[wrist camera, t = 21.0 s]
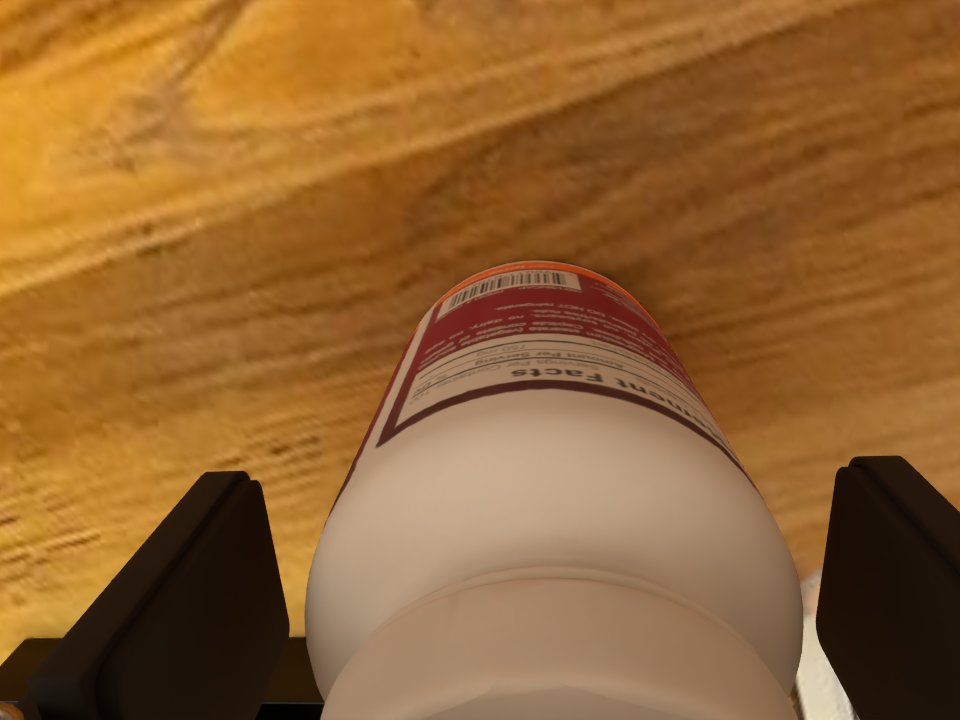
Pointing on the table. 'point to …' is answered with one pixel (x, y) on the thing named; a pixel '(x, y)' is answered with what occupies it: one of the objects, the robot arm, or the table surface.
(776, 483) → the table surface
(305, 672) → the button box
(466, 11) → the table surface
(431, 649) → the pill bottle
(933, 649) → the robot arm
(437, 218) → the table surface
